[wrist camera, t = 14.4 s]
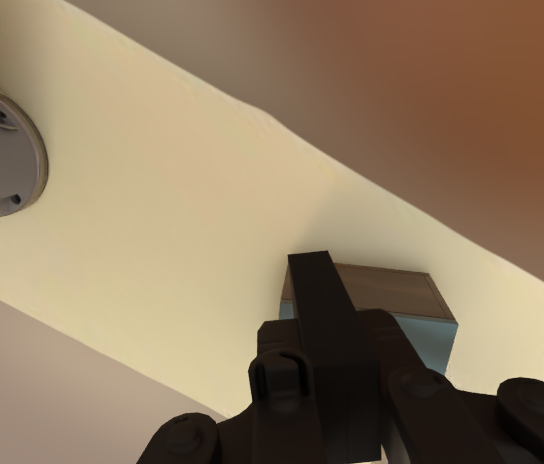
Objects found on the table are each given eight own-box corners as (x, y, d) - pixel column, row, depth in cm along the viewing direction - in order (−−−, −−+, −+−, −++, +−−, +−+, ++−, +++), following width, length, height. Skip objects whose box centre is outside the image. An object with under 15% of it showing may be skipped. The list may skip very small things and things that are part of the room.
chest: (407, 366, 50) (426, 428, 41) (281, 349, 51) (272, 405, 42) (429, 273, 45) (455, 319, 36) (289, 257, 46) (280, 298, 37)
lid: (424, 433, 41) (426, 440, 40) (271, 411, 42) (270, 416, 42) (456, 319, 36) (459, 324, 35) (280, 298, 37) (280, 302, 37)
